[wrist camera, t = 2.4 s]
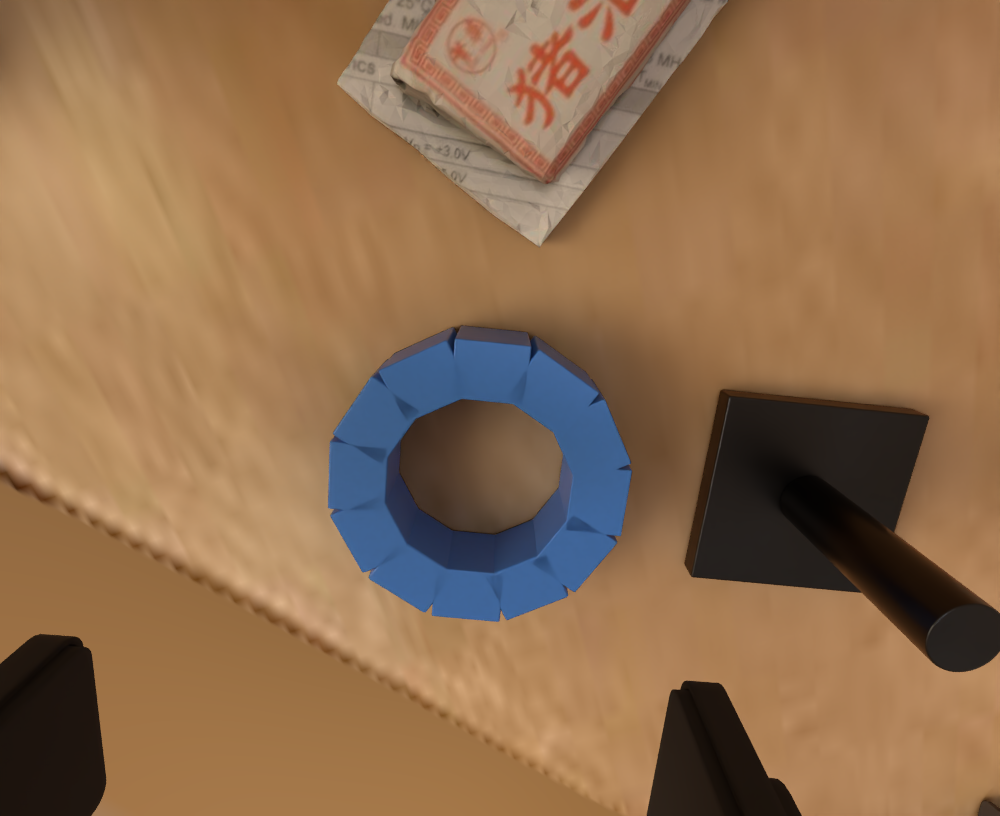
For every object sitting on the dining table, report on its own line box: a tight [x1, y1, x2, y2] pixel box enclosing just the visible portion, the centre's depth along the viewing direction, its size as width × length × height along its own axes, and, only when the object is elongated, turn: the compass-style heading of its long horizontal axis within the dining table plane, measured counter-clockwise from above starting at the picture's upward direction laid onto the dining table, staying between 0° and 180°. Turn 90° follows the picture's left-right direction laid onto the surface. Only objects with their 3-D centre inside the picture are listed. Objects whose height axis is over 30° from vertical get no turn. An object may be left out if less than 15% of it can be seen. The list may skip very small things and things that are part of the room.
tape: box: [328, 326, 632, 622], centre depth 27 cm, size 12×12×4 cm
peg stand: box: [685, 390, 1000, 672], centre depth 24 cm, size 9×9×11 cm
